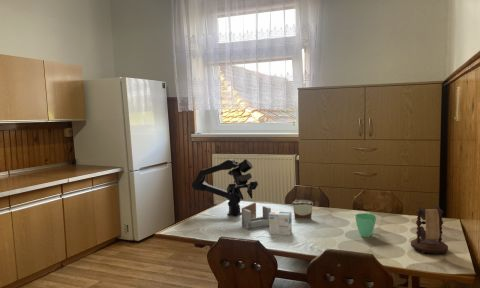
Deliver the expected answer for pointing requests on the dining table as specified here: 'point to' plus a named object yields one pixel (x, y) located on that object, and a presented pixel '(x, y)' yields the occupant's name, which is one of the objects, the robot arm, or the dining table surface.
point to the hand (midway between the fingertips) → (247, 198)
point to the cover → (251, 208)
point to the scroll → (429, 231)
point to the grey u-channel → (255, 219)
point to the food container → (302, 209)
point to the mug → (365, 223)
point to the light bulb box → (280, 223)
